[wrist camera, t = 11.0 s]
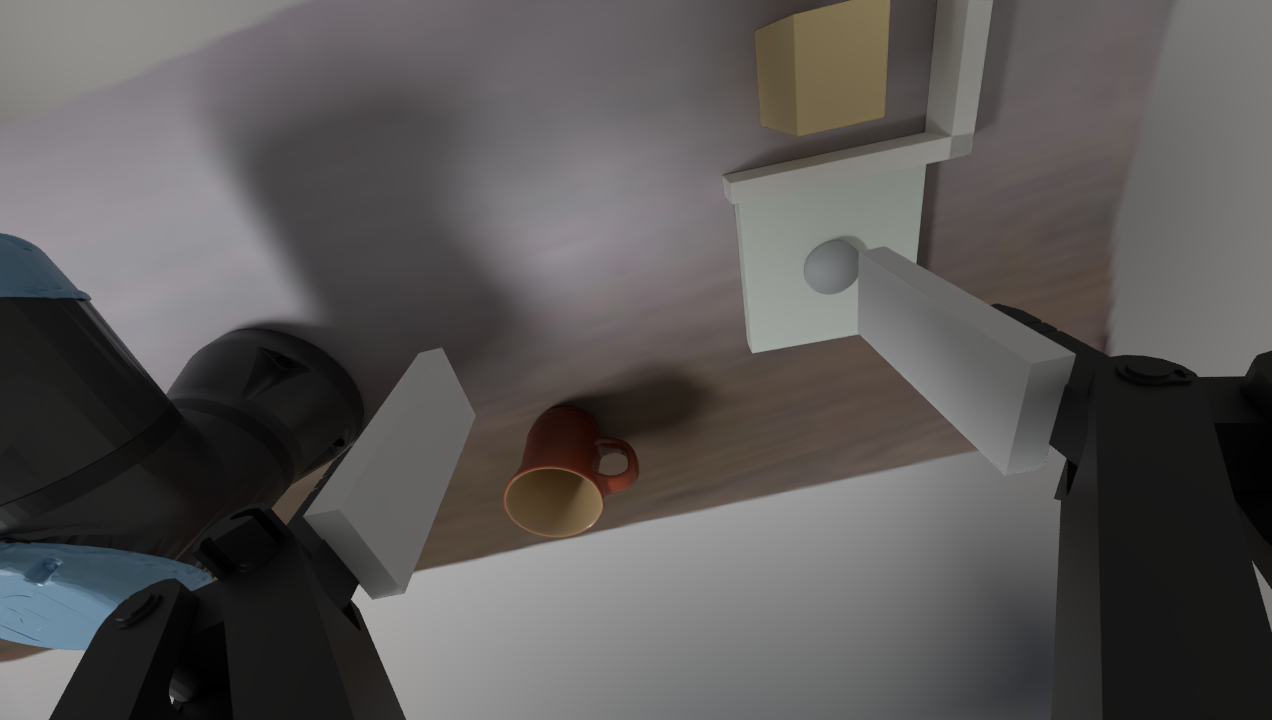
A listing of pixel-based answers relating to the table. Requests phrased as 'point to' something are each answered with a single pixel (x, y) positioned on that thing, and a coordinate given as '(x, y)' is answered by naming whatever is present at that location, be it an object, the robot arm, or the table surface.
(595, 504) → the mug
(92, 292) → the table surface
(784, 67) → the chute block
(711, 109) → the table surface
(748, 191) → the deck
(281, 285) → the table surface
